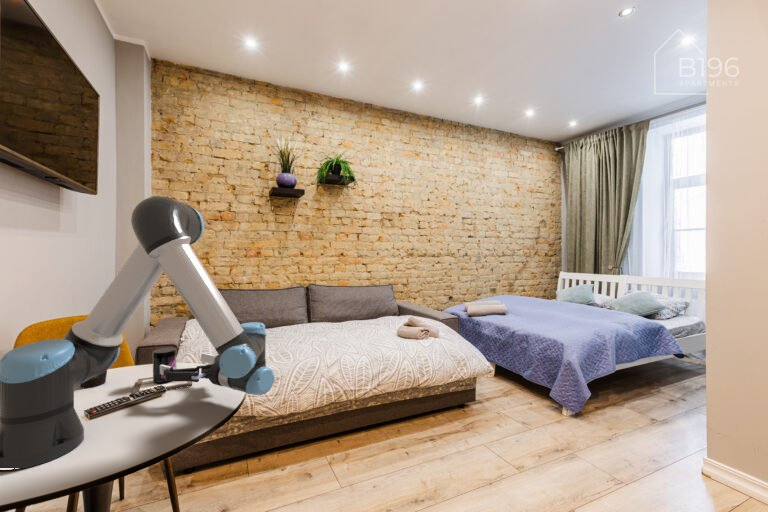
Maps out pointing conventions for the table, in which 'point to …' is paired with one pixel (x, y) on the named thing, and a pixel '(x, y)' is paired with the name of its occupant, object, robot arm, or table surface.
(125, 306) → the robot arm
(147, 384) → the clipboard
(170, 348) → the supplement container
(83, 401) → the table surface
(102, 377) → the coffee mug
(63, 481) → the table surface
